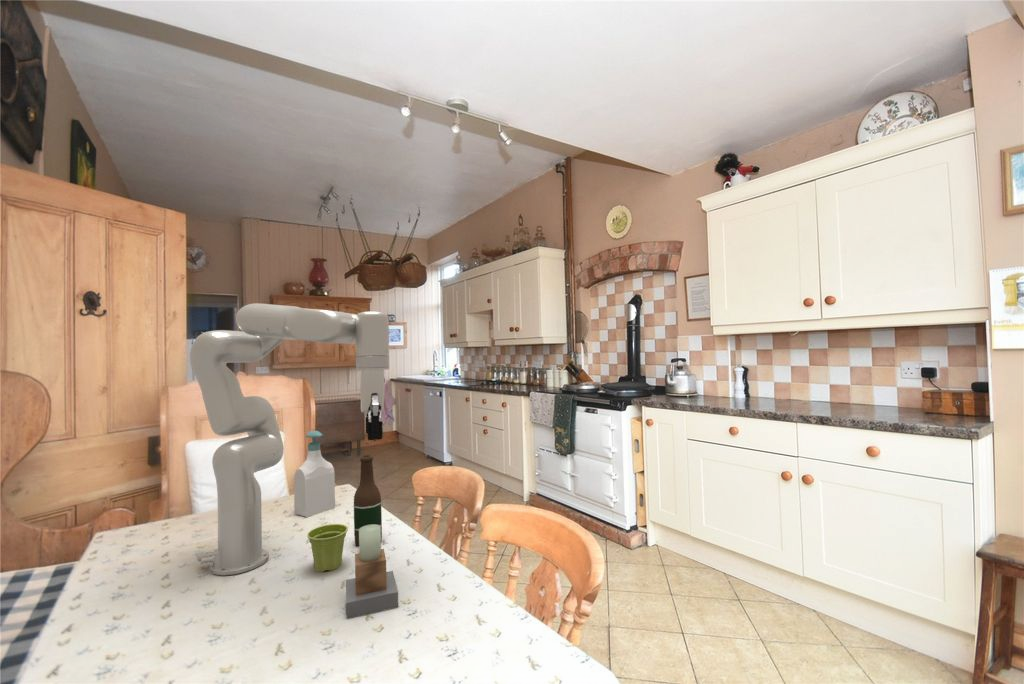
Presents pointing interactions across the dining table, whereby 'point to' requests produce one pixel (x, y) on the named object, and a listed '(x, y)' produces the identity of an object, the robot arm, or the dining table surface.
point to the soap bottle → (314, 482)
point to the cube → (370, 575)
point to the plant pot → (327, 546)
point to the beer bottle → (366, 499)
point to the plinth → (371, 598)
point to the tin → (370, 542)
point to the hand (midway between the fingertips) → (373, 436)
